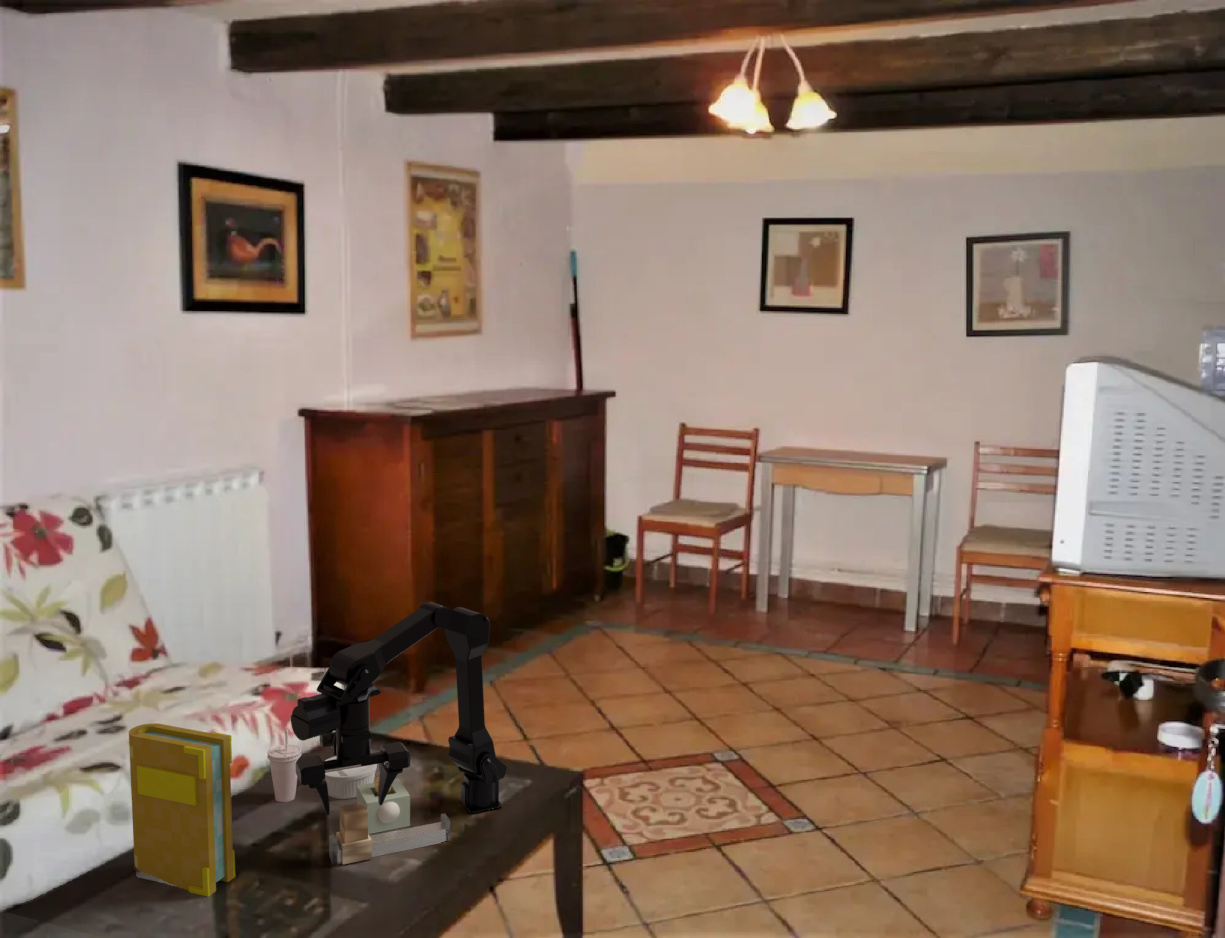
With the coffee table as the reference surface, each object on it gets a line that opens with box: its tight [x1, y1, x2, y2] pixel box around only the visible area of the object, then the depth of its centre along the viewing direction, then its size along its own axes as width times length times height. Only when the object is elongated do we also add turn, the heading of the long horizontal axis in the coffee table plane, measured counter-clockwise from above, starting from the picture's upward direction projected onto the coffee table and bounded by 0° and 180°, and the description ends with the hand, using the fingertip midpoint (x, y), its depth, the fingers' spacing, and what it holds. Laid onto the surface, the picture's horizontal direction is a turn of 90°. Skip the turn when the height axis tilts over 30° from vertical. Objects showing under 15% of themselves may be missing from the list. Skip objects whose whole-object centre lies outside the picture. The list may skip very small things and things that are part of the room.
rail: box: [328, 812, 451, 866], centre depth 191 cm, size 21×3×4 cm, turn 116°
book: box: [128, 723, 236, 898], centre depth 178 cm, size 17×7×25 cm, turn 71°
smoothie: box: [267, 728, 302, 803], centre depth 209 cm, size 6×6×14 cm
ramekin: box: [324, 756, 378, 800], centre depth 214 cm, size 11×11×5 cm
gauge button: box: [374, 774, 391, 797], centre depth 200 cm, size 3×3×4 cm
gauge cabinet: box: [356, 778, 411, 835], centre depth 201 cm, size 8×8×6 cm
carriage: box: [335, 802, 373, 865], centre depth 187 cm, size 5×5×8 cm
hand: (354, 809), depth 187 cm, fingers open, 9 cm apart
